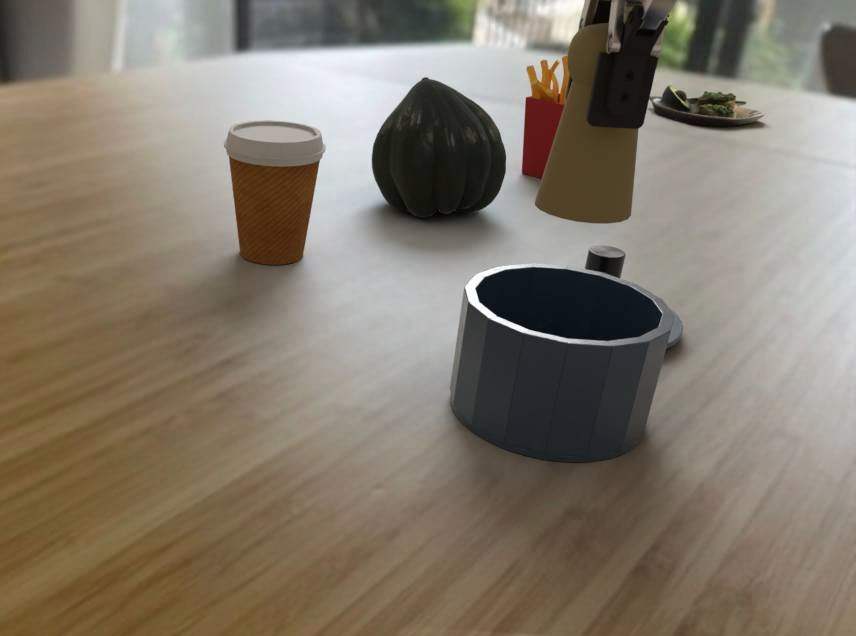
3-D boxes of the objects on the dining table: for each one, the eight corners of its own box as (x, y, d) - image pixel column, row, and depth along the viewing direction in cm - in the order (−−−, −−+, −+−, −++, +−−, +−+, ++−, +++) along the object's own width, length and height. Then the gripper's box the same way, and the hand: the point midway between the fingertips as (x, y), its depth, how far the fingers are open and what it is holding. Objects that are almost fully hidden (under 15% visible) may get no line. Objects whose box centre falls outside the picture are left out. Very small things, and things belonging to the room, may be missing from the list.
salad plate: (708, 102, 173) (714, 77, 171) (786, 123, 159) (794, 96, 157) (632, 107, 165) (637, 81, 163) (707, 130, 151) (715, 101, 149)
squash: (530, 187, 95) (509, 59, 98) (392, 193, 93) (375, 61, 96) (488, 238, 109) (471, 125, 112) (366, 244, 107) (352, 128, 110)
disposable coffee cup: (299, 278, 84) (305, 149, 78) (206, 260, 87) (205, 134, 81) (332, 247, 92) (340, 127, 86) (247, 231, 95) (249, 114, 89)
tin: (616, 372, 71) (641, 270, 66) (669, 469, 59) (703, 352, 55) (442, 360, 71) (456, 258, 67) (459, 455, 59) (477, 337, 55)
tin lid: (652, 295, 85) (669, 228, 82) (704, 367, 72) (726, 290, 69) (495, 285, 85) (506, 217, 82) (520, 355, 72) (534, 278, 69)
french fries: (556, 184, 117) (578, 62, 110) (501, 170, 122) (519, 53, 115) (588, 173, 123) (611, 57, 116) (535, 160, 128) (554, 47, 120)
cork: (651, 215, 57) (695, 30, 52) (586, 229, 54) (626, 34, 49) (578, 190, 62) (611, 16, 56) (514, 201, 59) (544, 19, 53)
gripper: (567, -231, 54) (518, 85, 63) (646, -278, 39) (567, 146, 48) (693, -223, 54) (626, 92, 63) (821, -268, 39) (710, 154, 48)
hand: (602, 112), depth 55 cm, fingers closed on cork, 5 cm apart
